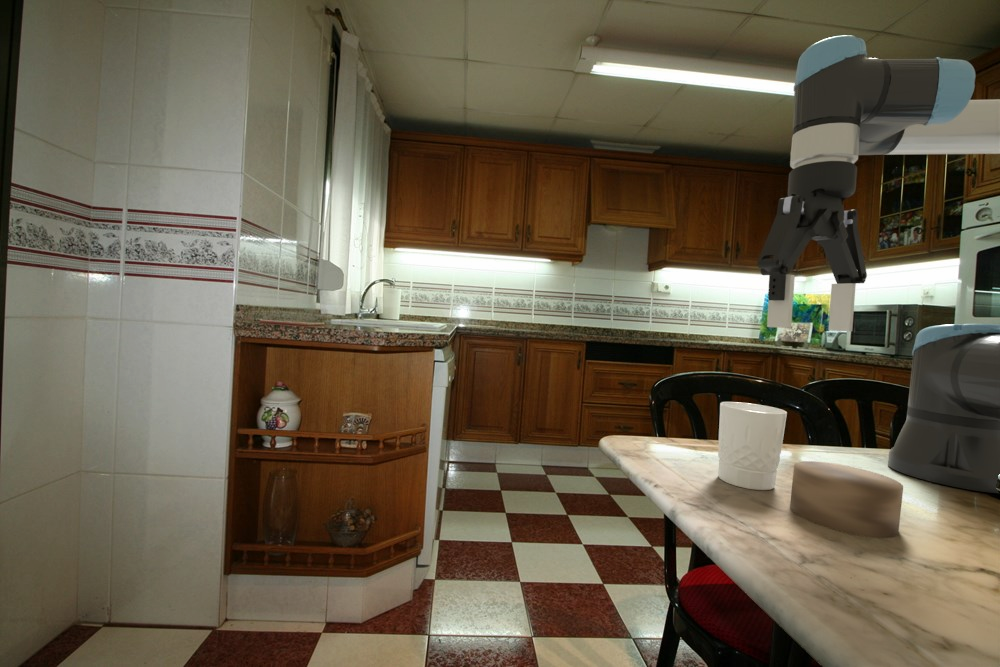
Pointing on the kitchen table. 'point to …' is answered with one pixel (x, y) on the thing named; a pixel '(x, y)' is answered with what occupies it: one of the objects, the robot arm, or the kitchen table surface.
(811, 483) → the walnut block
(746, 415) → the white cup
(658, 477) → the kitchen table surface
